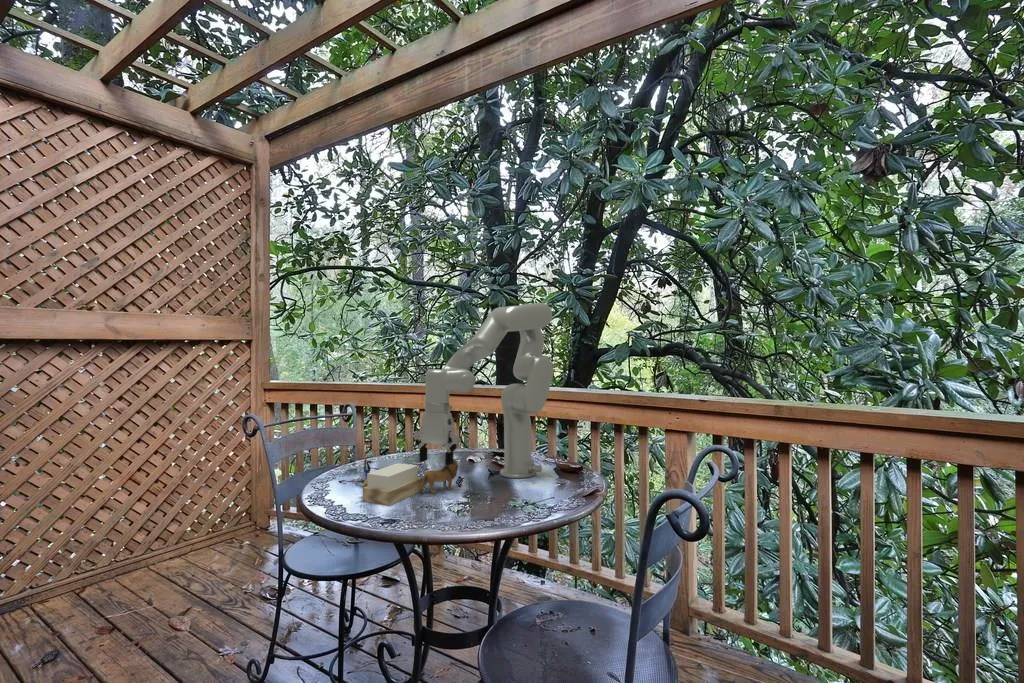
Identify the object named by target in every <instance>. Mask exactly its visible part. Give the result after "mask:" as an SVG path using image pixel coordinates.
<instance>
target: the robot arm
mask: <svg viewBox="0 0 1024 683" xmlns="http://www.w3.org/2000/svg"><path fill="white" fill-rule="evenodd" d="M552 319H553V310H552V309H551V307H550V306H549V305H547V304H546V303H542V302H534V303H525V304H520V305H508V306H500V307H496V308H494V309H493V310H492V311H491V312H490V313H489V314H488V316H487V317H486V318H485V320H484V321H483V323H482V324H481V325H480V328H479V329H478V330H477V331H476V333H474V336H473V337H472V338H471V339H470V340H468V341H467V342H466V343H465V344H464V345H463V346H461V347H460V348H459V349H458V350H457V351H456V352H455V353H454V354H453V355H452V356H451V357H450V359H449V360H448V361H447V362H446V364H444V366H443V368H442V369H439V368H435V369H434V368H432V369H428V370H427V371H426V372H425V385H424V386H425V388H424V389H425V395H424V397H425V398H424V412H423V414H422V418H421V423H420V430H418V431H417V432H414V433H413V434H412V436H413V438H414V442H415V444H416V445H417V449H418V450H419V455H418V456H419V463H421V462H425V461H427V460H428V447H427V445H434V446H443V447H444V449H445V450H446V451H445V458H444V459H445V461H444V462H445V465H450V464H452V463H453V459H454V452H455V451H456V449H457V448H458V447H459V445H460V442H461V440H462V438H461V437H459V436H458V435H457V434H456V433H455V431H454V422H453V420H454V419H453V415H452V413H451V412H450V411H451V410H452V409H453V406H452V405H450V392H458V393H466V392H468V391H470V390H472V389H473V388H474V386H475V384H476V377H475V375H474V373H473V372H472V371H470V370H469V368H471V367H472V366H474V364H476V363H477V362H479V361H481V360H483V359H485V358H487V357H489V356H491V355H492V354H493V353H494V352H495V351H496V349H497V348H498V347H499V345H500V343H501V342H502V340H504V338H505V336H506V335H507V333H508V332H519V335H520V341H519V342H520V343H519V346H518V350H517V353H516V358H515V361H514V364H513V368H512V373H513V376H514V377H515V378H516V379H517V380H520V381H522V382H526V383H525V384H524V383H510V384H508V385H507V386H505V387H504V388H503V390H502V392H501V396H500V402H501V407H502V412H503V428H504V429H503V444H504V445H503V446H504V447H503V449H504V451H503V452H504V453H503V454H504V455H503V457H504V461H503V462H504V464H503V465H504V467H503V468H501V470H499V475H500V476H502V477H504V478H509V479H510V478H511V479H526V478H531V477H534V476H536V474H537V472H538V473H541V472H543V467H542V465H541V464H535V460H532V420H531V416H530V415H531V414H533V415H535V414H537V413H539V412H541V411H542V410H543V408H544V406H545V404H546V402H547V398H548V395H549V392H550V388H551V384H552V381H553V376H554V366H553V362H552V361H551V359H550V358H549V357H548V356H546V355H543V350H544V345H545V338H544V334H543V331H542V328H545V327H547V326H549V324H551V321H552ZM445 465H444V466H445Z"/></svg>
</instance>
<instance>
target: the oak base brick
mask: <svg viewBox="0 0 1024 683" xmlns="http://www.w3.org/2000/svg"><path fill="white" fill-rule="evenodd" d="M422 479H423V477H419V476H418V479H415V480H413V481H411V482H408V483H406V484H403V485H401V486H398V487H396V488H394V489H391V490H383V489H376V488H369V487H368V486H366V487H364V486H363V487H362V502H366V503H372V504H378V505H384V506H388V507H389V506H392V505H394V504H397V503H399V502H401V501H403V500H405V499H408V498H410V497H412V496H414V495H417V494H419V493H420V489H421V484H422Z"/></svg>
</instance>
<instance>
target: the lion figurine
mask: <svg viewBox="0 0 1024 683" xmlns="http://www.w3.org/2000/svg"><path fill="white" fill-rule="evenodd" d="M458 470H459V463H458V461H457V460H456V459H454V458H453V463H452V464H450V465H444V466H443V467H442V469H439V470H428V471H426V472H425V473H424V475H423V476H422V478H423V479H422V484H421V489H420V492H419V493H418V494H419V495H421V494H424V493H425V490H424V487H425V486H427V484H428V485H429V491H431V493H432V494H437V491H436V490H434V488H433V487H434V485H435V482H437V483H442V484H443V485H442V488H443V489H445V490H446V489H447V488H448V490H449V491H452V490H453V489H454V488H453V487H452V484H453V480H454V479H455V478H456V476H457V475H458ZM447 483H448V486H447Z"/></svg>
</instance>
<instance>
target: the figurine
mask: <svg viewBox="0 0 1024 683" xmlns="http://www.w3.org/2000/svg"><path fill="white" fill-rule="evenodd" d="M371 463H373V461H372V460H371V459H370V460H367V456H365V457H364V461H363V472H364V475H363V476H362V477H361V478H358V479H355V482H358V481H362V480H363V479H365V480H364V482H362V486H363V487H366V486H368V485H367V474H368V473H371V470H372V468H371V466H370V464H371Z"/></svg>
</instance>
